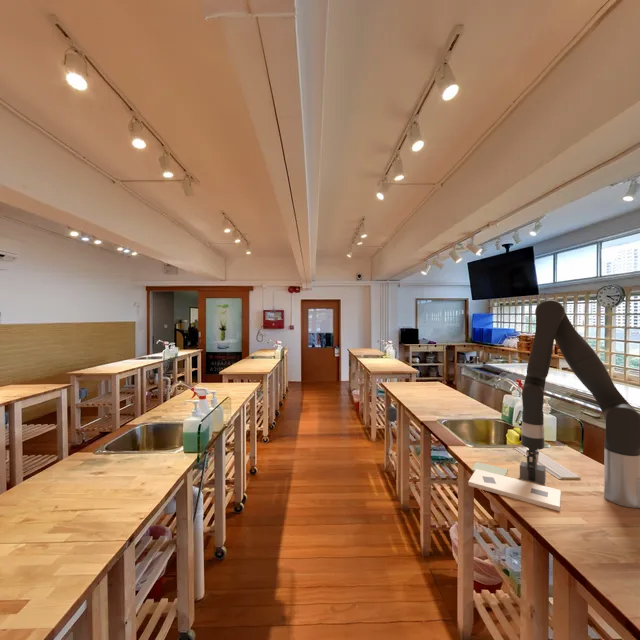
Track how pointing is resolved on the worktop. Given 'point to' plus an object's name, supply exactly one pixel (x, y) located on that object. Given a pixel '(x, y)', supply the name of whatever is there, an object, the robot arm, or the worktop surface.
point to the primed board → (516, 489)
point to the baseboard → (551, 465)
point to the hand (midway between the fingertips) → (532, 477)
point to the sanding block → (538, 474)
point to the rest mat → (489, 468)
